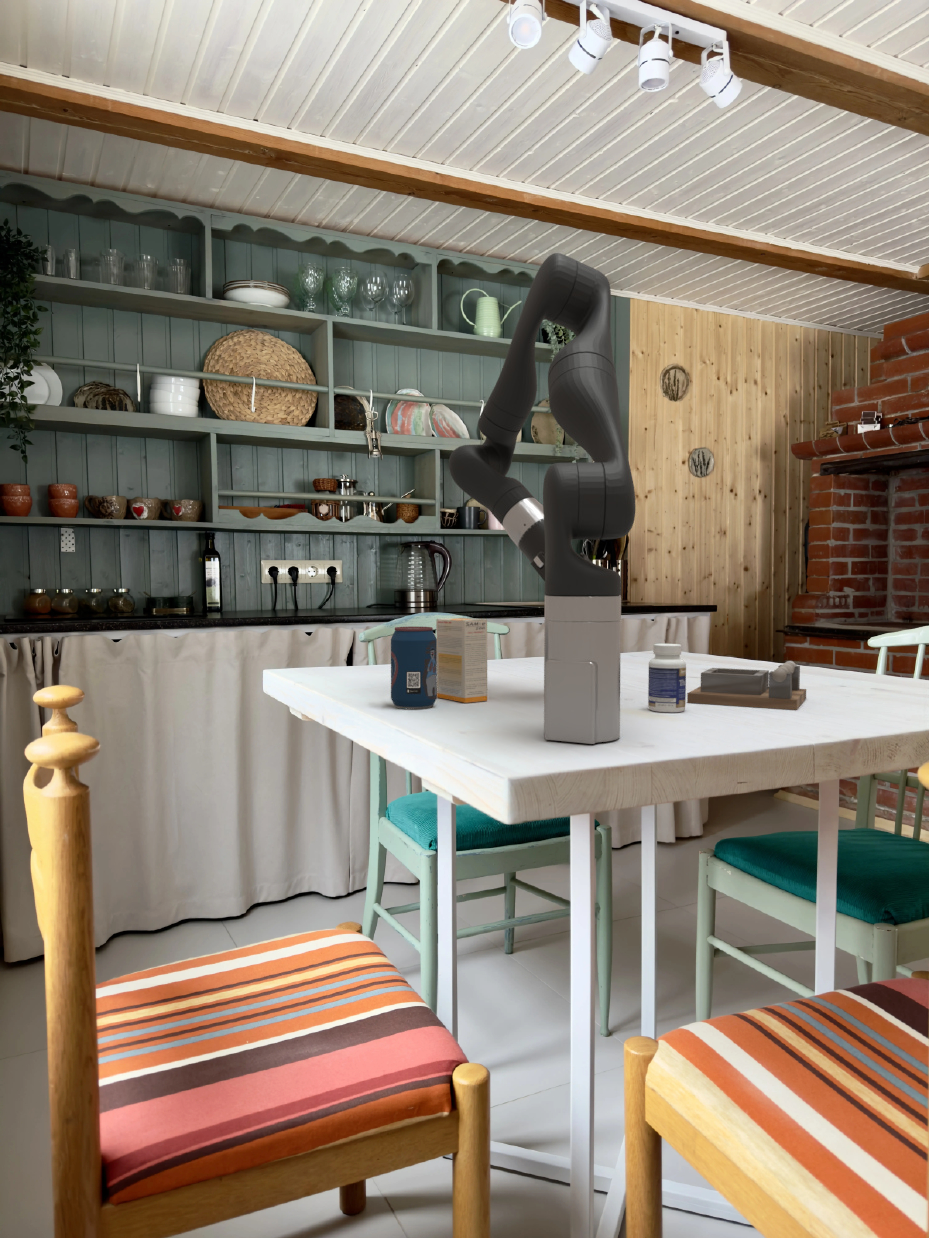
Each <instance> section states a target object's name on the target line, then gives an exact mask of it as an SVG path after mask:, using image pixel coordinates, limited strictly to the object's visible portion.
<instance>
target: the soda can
mask: <svg viewBox="0 0 929 1238" xmlns="http://www.w3.org/2000/svg"><path fill="white" fill-rule="evenodd" d="M433 630H434V629H433V627H431V626H395V627H394V632H393V634H392V636H391V638H390V699H391V701H392V703H393V704H394V707H395V708H397V709H401V708H407V709H406V710H424V709H423V708H425V709H430V708H432V707H433V706H434V705H435V703H436V701H437V639H436V635H435V633H434V631H433Z"/></svg>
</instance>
